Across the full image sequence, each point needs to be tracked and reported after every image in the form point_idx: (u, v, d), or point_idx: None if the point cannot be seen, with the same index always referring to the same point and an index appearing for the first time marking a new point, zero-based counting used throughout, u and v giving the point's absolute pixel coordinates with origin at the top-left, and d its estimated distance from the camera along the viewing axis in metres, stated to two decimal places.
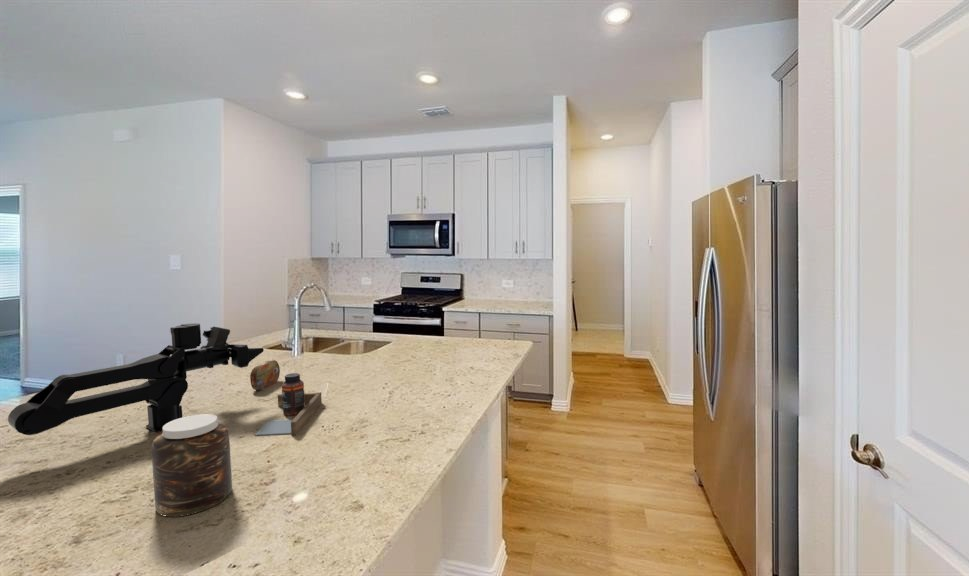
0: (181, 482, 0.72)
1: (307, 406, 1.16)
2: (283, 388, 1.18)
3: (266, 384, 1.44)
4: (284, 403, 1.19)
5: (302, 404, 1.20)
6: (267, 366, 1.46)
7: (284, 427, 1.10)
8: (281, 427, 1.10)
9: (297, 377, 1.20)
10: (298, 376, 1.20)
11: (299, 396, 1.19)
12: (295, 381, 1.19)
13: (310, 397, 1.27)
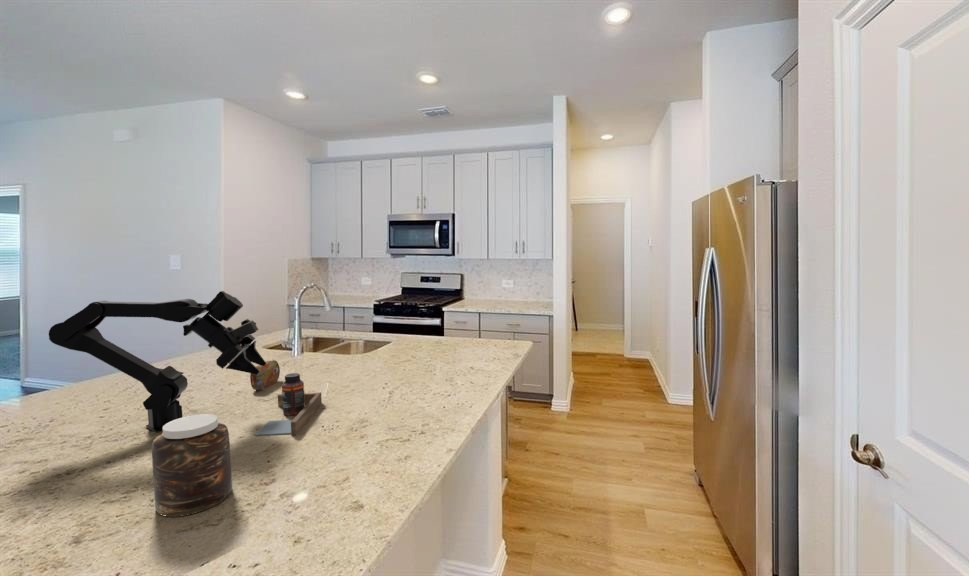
0: (181, 482, 0.72)
1: (307, 406, 1.16)
2: (283, 388, 1.18)
3: (266, 384, 1.44)
4: (284, 403, 1.19)
5: (302, 404, 1.20)
6: (267, 366, 1.46)
7: (284, 427, 1.10)
8: (281, 427, 1.10)
9: (297, 377, 1.20)
10: (298, 376, 1.20)
11: (299, 396, 1.19)
12: (295, 381, 1.19)
13: (310, 397, 1.27)
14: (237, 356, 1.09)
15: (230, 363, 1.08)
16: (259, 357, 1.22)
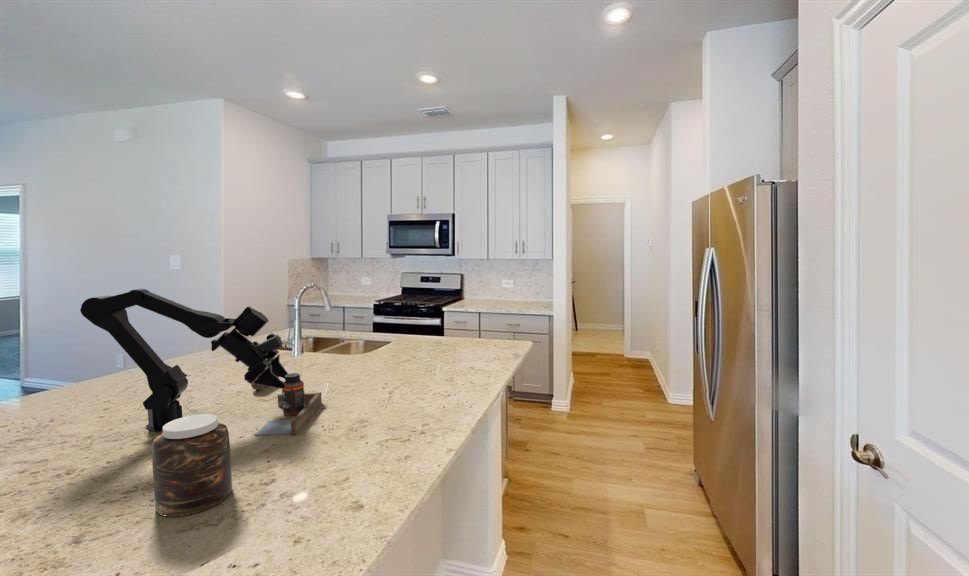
0: (181, 482, 0.72)
1: (307, 406, 1.16)
2: (283, 388, 1.18)
3: None
4: (284, 403, 1.19)
5: (302, 404, 1.20)
6: None
7: (284, 427, 1.10)
8: (281, 427, 1.10)
9: (297, 377, 1.20)
10: (298, 376, 1.20)
11: (299, 396, 1.19)
12: (295, 381, 1.19)
13: (310, 397, 1.27)
14: (264, 371, 1.11)
15: (257, 378, 1.11)
16: (283, 370, 1.24)
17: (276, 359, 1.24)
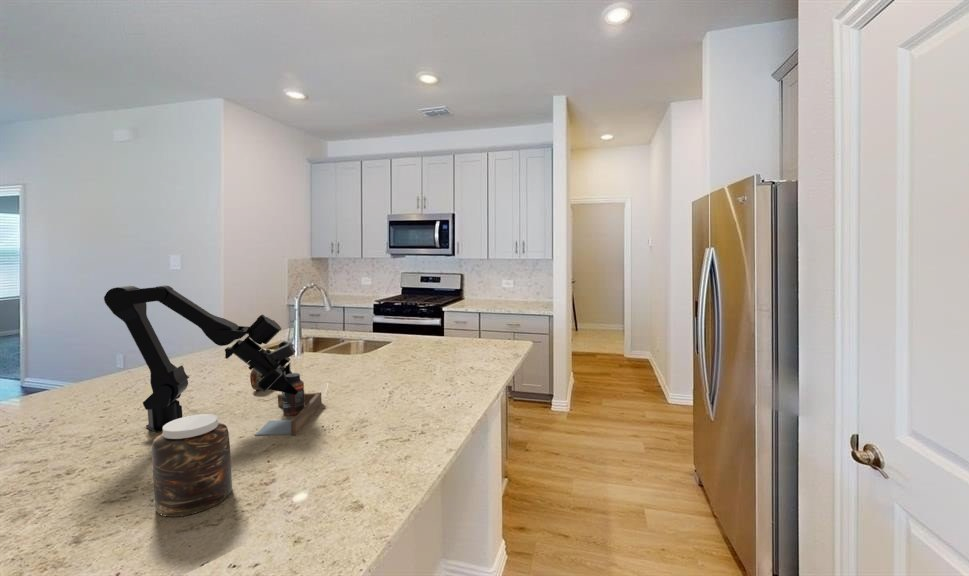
0: (181, 482, 0.72)
1: (307, 406, 1.16)
2: None
3: None
4: (284, 403, 1.19)
5: (302, 404, 1.20)
6: None
7: (284, 427, 1.10)
8: (281, 427, 1.10)
9: (297, 377, 1.20)
10: (298, 376, 1.20)
11: (299, 396, 1.19)
12: (295, 381, 1.19)
13: (310, 397, 1.27)
14: (278, 378, 1.13)
15: (272, 384, 1.13)
16: None
17: (287, 368, 1.23)
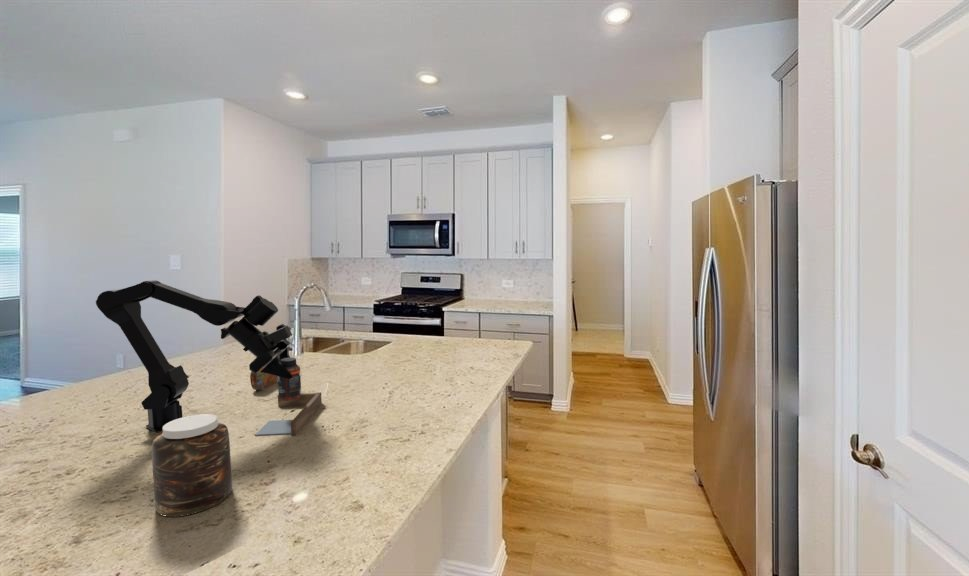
0: (181, 482, 0.72)
1: (307, 406, 1.16)
2: None
3: (266, 384, 1.44)
4: (279, 388, 1.15)
5: (297, 390, 1.16)
6: None
7: (284, 427, 1.10)
8: (281, 427, 1.10)
9: (293, 362, 1.16)
10: (294, 361, 1.16)
11: (294, 382, 1.15)
12: (290, 366, 1.15)
13: (310, 397, 1.27)
14: (271, 360, 1.10)
15: (264, 367, 1.09)
16: None
17: (285, 351, 1.20)
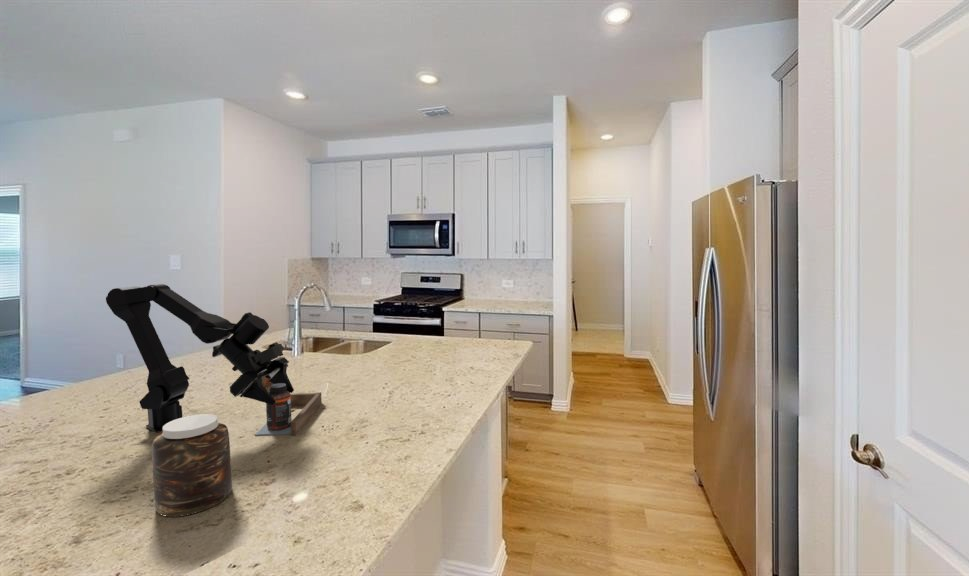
0: (181, 482, 0.72)
1: (307, 406, 1.16)
2: None
3: (266, 384, 1.44)
4: (267, 415, 1.08)
5: (285, 419, 1.09)
6: None
7: None
8: None
9: (281, 389, 1.08)
10: (282, 387, 1.09)
11: (281, 410, 1.08)
12: (278, 393, 1.08)
13: (310, 397, 1.27)
14: (250, 385, 1.02)
15: (243, 391, 1.02)
16: (287, 383, 1.14)
17: (281, 370, 1.15)
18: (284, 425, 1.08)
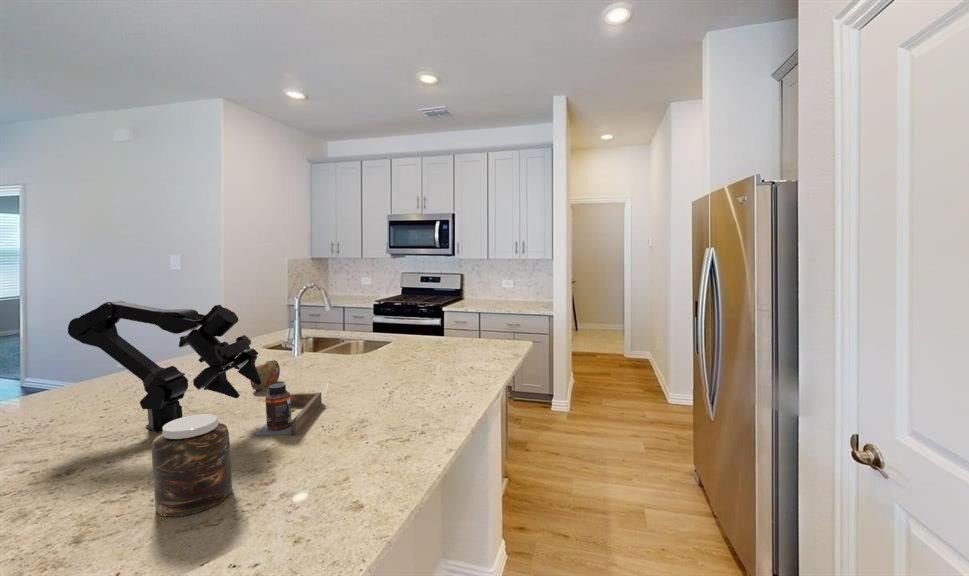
0: (181, 482, 0.72)
1: (307, 406, 1.16)
2: None
3: (266, 384, 1.44)
4: (266, 416, 1.08)
5: (285, 419, 1.09)
6: (267, 366, 1.46)
7: None
8: None
9: (280, 389, 1.08)
10: (282, 387, 1.09)
11: (281, 410, 1.08)
12: (277, 393, 1.08)
13: (310, 397, 1.27)
14: (213, 379, 1.03)
15: (207, 385, 1.03)
16: (255, 375, 1.15)
17: (249, 362, 1.15)
18: (284, 425, 1.09)
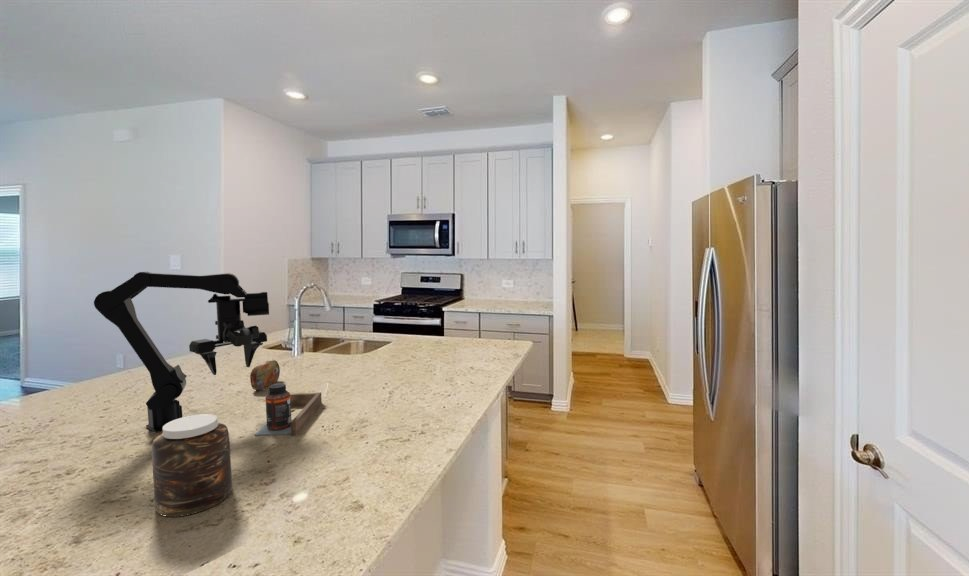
0: (181, 482, 0.72)
1: (307, 406, 1.16)
2: None
3: (266, 384, 1.44)
4: (266, 416, 1.08)
5: (285, 419, 1.09)
6: (267, 366, 1.46)
7: None
8: None
9: (280, 389, 1.08)
10: (282, 387, 1.09)
11: (281, 410, 1.08)
12: (277, 393, 1.08)
13: (310, 397, 1.27)
14: (202, 353, 1.11)
15: None
16: (248, 358, 1.22)
17: (252, 346, 1.21)
18: (284, 425, 1.09)
